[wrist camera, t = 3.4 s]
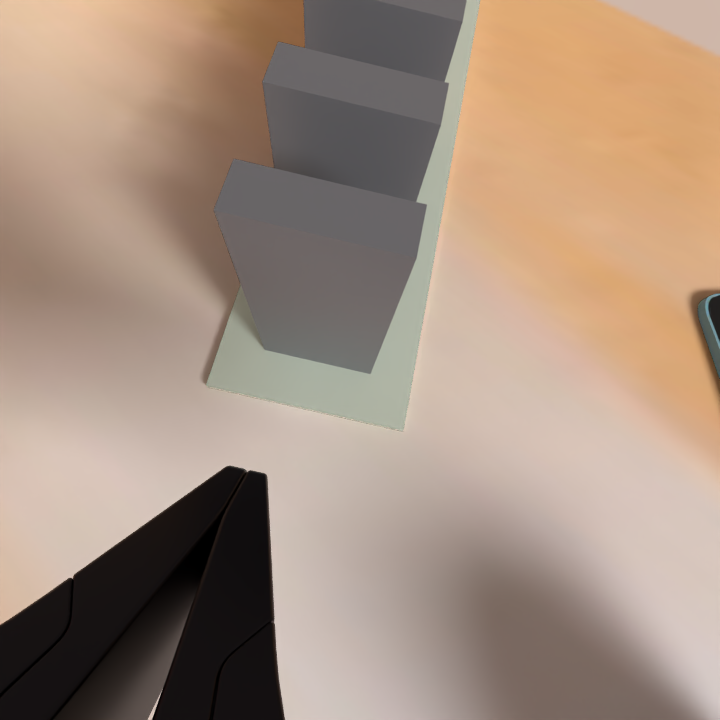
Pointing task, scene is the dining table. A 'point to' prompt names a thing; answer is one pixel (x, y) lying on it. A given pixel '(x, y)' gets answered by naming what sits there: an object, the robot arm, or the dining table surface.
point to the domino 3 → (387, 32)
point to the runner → (399, 349)
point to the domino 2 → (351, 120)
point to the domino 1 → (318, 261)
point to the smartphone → (711, 326)
